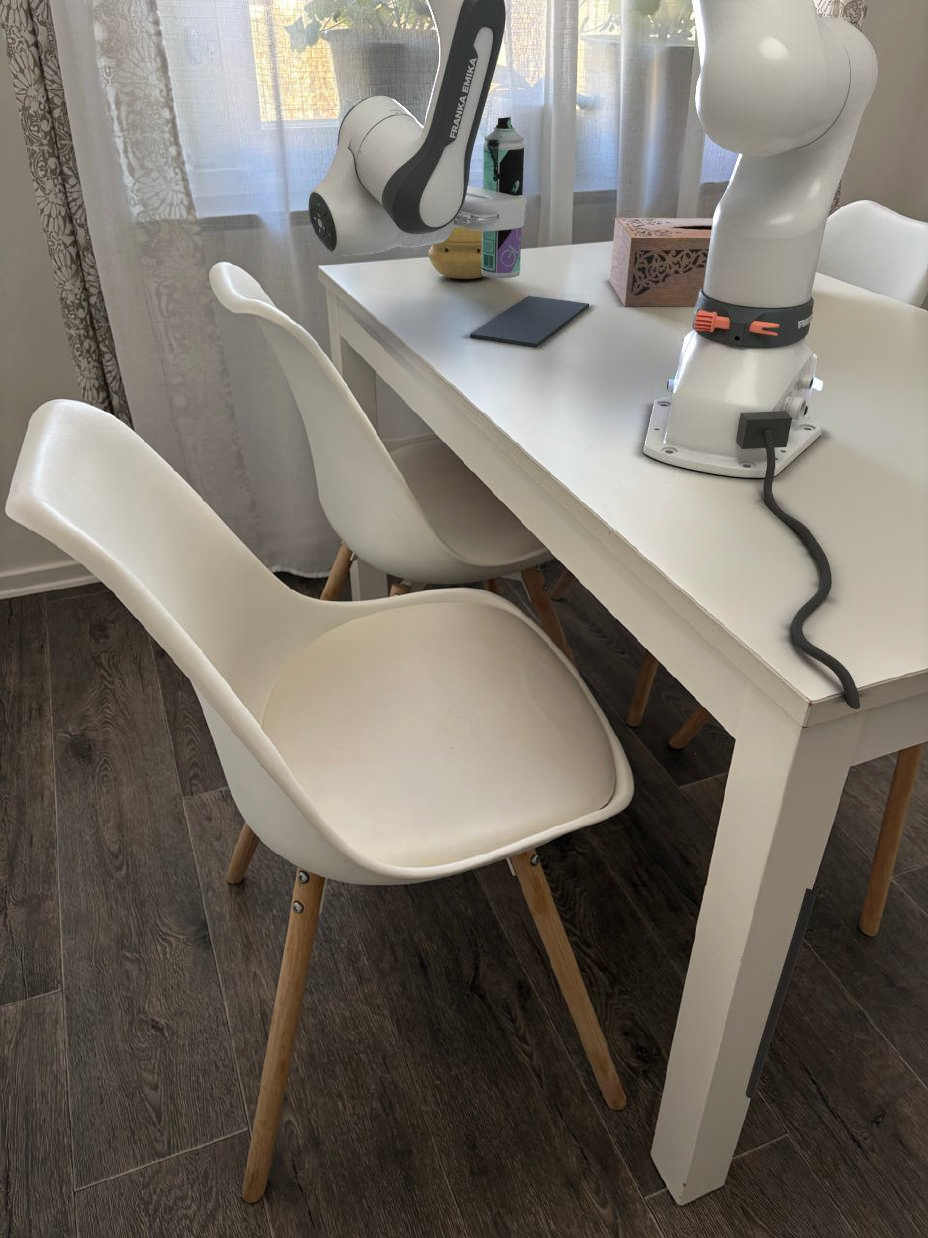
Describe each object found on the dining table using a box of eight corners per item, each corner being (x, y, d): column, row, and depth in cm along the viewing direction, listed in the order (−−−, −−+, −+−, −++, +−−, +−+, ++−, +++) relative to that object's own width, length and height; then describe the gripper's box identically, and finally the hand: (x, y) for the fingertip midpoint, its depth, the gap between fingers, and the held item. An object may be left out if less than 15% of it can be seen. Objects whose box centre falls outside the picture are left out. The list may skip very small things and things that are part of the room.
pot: (431, 266, 169) (430, 205, 163) (498, 268, 168) (500, 206, 163) (426, 284, 159) (425, 219, 154) (498, 285, 159) (499, 220, 153)
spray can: (516, 279, 136) (522, 119, 125) (478, 277, 137) (480, 118, 126) (522, 270, 141) (528, 115, 130) (485, 268, 142) (487, 114, 131)
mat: (536, 347, 132) (536, 343, 132) (469, 337, 136) (469, 333, 135) (589, 306, 149) (589, 303, 149) (528, 298, 152) (528, 295, 152)
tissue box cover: (763, 281, 162) (774, 217, 157) (790, 305, 150) (803, 237, 145) (609, 281, 161) (615, 217, 156) (624, 306, 149) (631, 237, 144)
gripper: (474, 194, 118) (559, 183, 125) (382, 172, 132) (463, 163, 139) (473, 248, 122) (556, 234, 129) (384, 221, 135) (463, 210, 142)
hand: (507, 197), depth 134 cm, fingers closed on spray can, 5 cm apart
